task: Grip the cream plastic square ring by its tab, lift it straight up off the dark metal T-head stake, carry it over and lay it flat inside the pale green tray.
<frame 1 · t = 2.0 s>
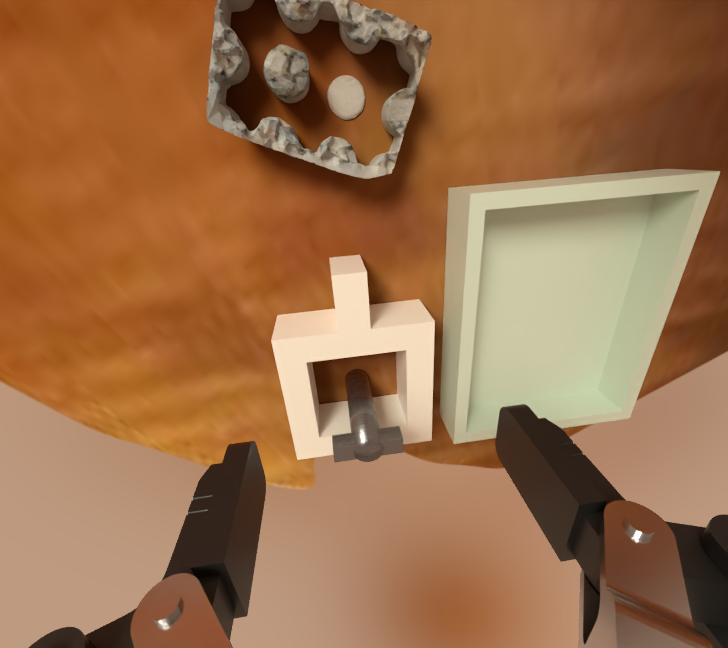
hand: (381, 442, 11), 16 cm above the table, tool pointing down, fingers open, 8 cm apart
tabbed ring: (355, 366, 29), on the table
T-head stake: (356, 379, 30), on the table
tray: (536, 308, 29), on the table
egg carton: (317, 93, 21), on the table
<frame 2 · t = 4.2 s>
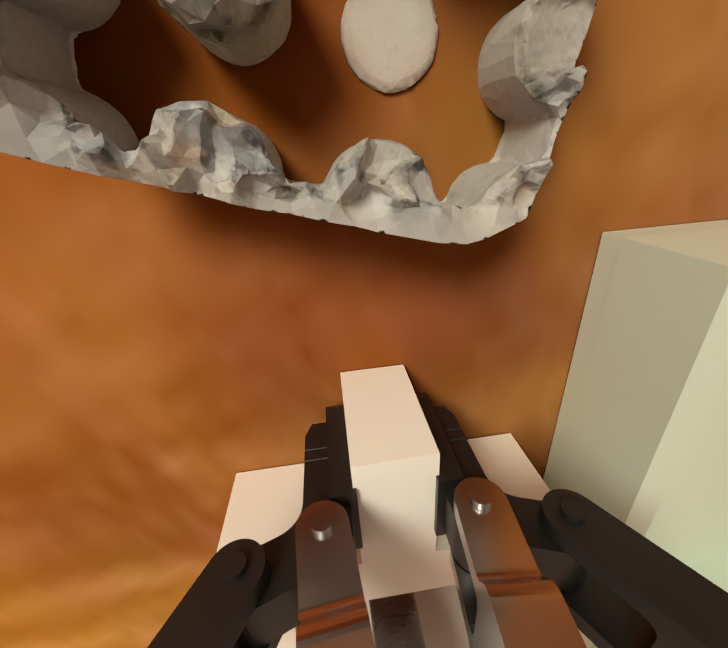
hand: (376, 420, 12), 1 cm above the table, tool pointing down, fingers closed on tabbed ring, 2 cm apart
tabbed ring: (383, 537, 16), on the table, touching gripper
T-head stake: (384, 554, 17), on the table
tray: (712, 435, 16), on the table
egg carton: (315, 34, 8), on the table
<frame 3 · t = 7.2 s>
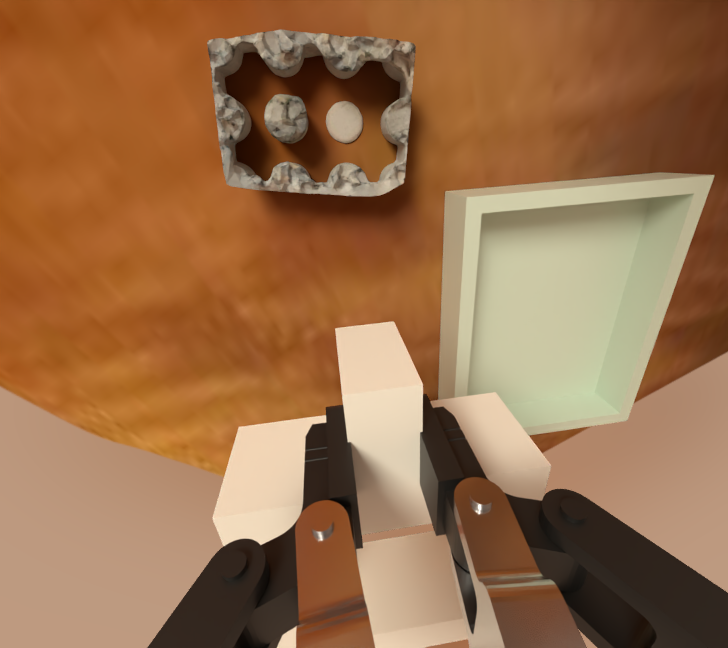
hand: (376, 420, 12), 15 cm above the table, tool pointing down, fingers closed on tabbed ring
tabbed ring: (377, 496, 17), point 13 cm above the table, touching gripper
tray: (534, 310, 29), on the table
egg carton: (317, 126, 21), on the table
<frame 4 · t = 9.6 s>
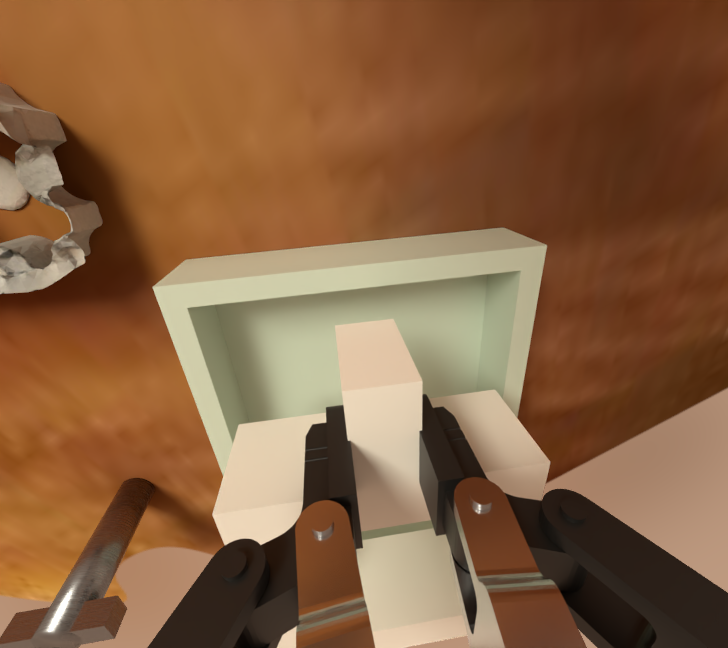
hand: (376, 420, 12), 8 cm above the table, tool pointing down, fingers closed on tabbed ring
tabbed ring: (377, 493, 17), point 6 cm above the table, touching gripper
T-head stake: (137, 488, 23), on the table
tray: (364, 400, 22), on the table
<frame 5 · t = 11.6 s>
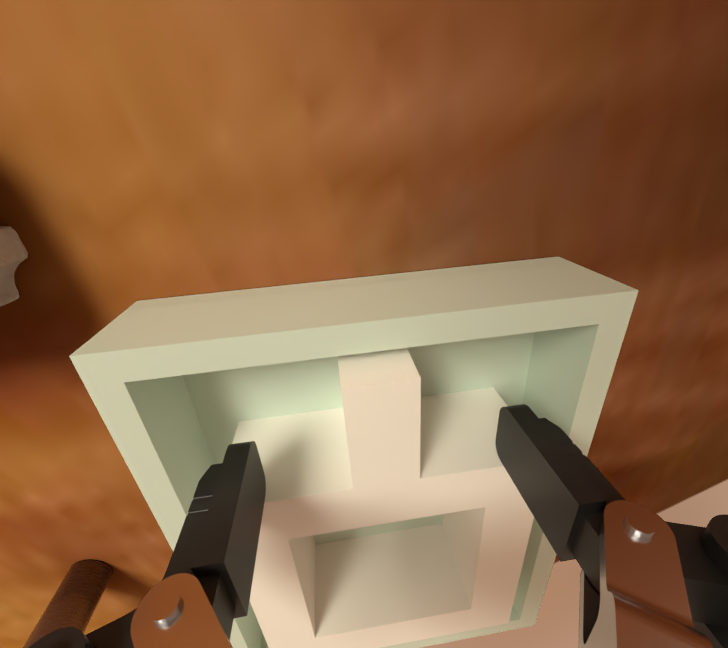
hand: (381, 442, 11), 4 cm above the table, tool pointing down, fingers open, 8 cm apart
tabbed ring: (376, 490, 17), point 1 cm above the table, touching gripper, tray
T-head stake: (91, 571, 18), on the table
tray: (372, 465, 17), on the table
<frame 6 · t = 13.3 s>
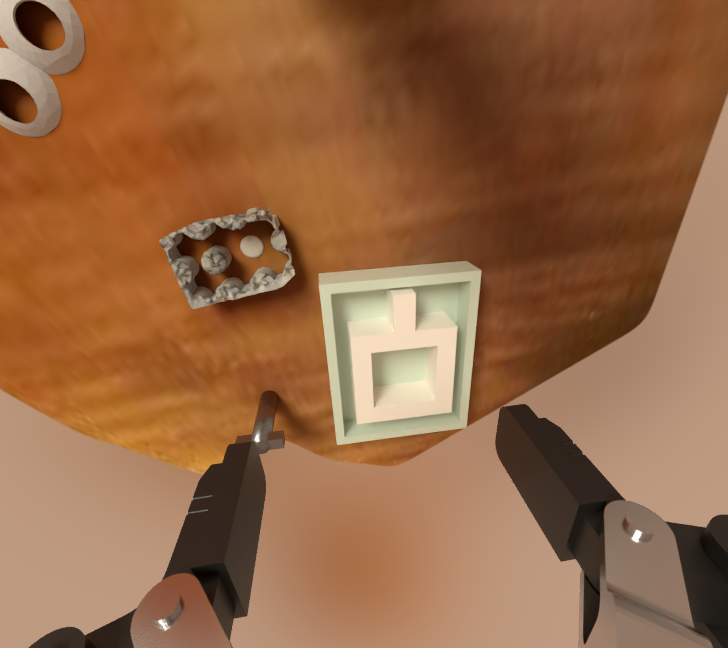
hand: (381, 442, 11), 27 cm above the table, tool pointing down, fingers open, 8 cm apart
tabbed ring: (396, 359, 40), point 1 cm above the table, touching tray
T-head stake: (269, 397, 41), on the table
tray: (395, 349, 41), on the table
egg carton: (237, 252, 34), on the table
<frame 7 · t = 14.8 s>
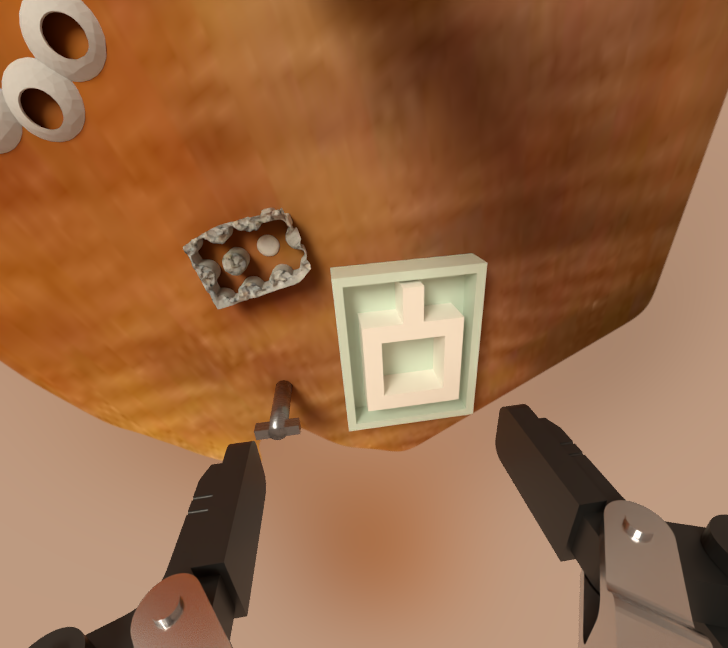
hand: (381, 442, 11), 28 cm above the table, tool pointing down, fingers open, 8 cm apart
tabbed ring: (405, 348, 42), point 1 cm above the table, touching tray
T-head stake: (283, 387, 43), on the table
tray: (403, 339, 42), on the table
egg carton: (255, 252, 36), on the table
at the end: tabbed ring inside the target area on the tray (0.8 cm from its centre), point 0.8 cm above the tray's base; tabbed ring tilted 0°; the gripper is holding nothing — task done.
